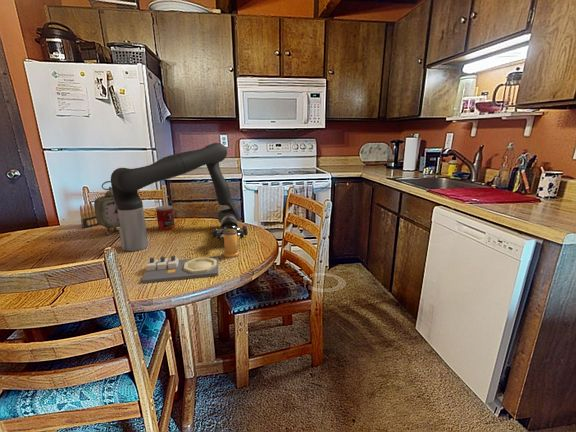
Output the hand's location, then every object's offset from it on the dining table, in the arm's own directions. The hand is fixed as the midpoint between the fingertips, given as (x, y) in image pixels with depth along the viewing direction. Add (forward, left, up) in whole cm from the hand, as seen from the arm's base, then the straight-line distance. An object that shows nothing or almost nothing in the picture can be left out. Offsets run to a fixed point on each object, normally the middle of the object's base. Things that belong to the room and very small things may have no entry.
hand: (230, 237), depth 119 cm
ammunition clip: (-69, +51, -6) cm, 86 cm away
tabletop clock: (-54, +38, -6) cm, 67 cm away
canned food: (-31, +38, -6) cm, 50 cm away
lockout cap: (0, -4, -6) cm, 7 cm away
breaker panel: (-17, -14, -6) cm, 23 cm away
